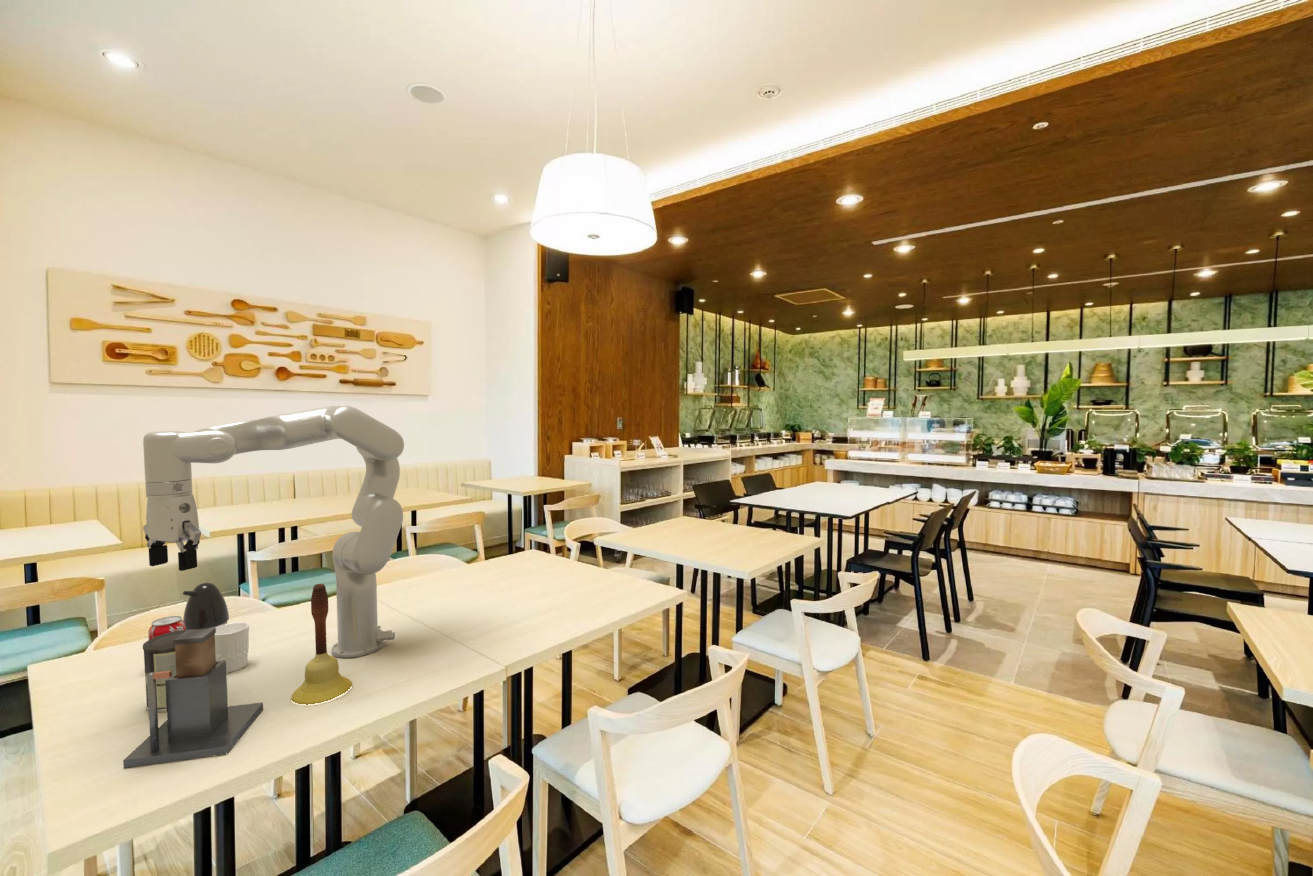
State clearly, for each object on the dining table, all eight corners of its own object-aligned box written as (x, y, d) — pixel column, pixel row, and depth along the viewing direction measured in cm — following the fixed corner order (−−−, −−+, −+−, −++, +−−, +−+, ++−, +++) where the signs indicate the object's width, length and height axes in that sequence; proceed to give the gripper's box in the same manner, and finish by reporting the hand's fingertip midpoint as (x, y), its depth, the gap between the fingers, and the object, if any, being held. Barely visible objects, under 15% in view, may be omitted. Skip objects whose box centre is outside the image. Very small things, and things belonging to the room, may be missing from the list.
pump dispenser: (174, 639, 154) (171, 586, 153) (215, 626, 164) (212, 575, 163) (197, 645, 151) (194, 591, 150) (237, 631, 160) (235, 579, 159)
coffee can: (132, 712, 118) (128, 648, 117) (175, 688, 128) (173, 628, 127) (179, 713, 117) (176, 649, 117) (218, 688, 128) (216, 629, 127)
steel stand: (263, 709, 119) (260, 636, 118) (226, 754, 104) (223, 671, 103) (175, 719, 115) (171, 645, 114) (123, 768, 100) (119, 682, 99)
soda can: (165, 675, 134) (162, 627, 133) (142, 672, 135) (139, 624, 135) (194, 662, 141) (192, 616, 140) (172, 659, 142) (170, 614, 142)
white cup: (257, 663, 140) (255, 625, 140) (222, 677, 133) (220, 637, 132) (239, 657, 143) (237, 620, 143) (203, 670, 136) (202, 631, 136)
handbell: (297, 684, 130) (293, 580, 129) (356, 674, 135) (353, 574, 133) (284, 710, 119) (280, 597, 117) (349, 699, 123) (345, 590, 122)
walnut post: (219, 718, 112) (215, 627, 111) (207, 732, 108) (202, 637, 107) (191, 722, 111) (187, 630, 110) (177, 736, 106) (173, 640, 105)
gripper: (215, 488, 119) (219, 566, 120) (164, 484, 125) (167, 558, 126) (175, 493, 112) (179, 576, 113) (122, 489, 118) (127, 567, 119)
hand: (173, 566), depth 120 cm, fingers open, 9 cm apart
